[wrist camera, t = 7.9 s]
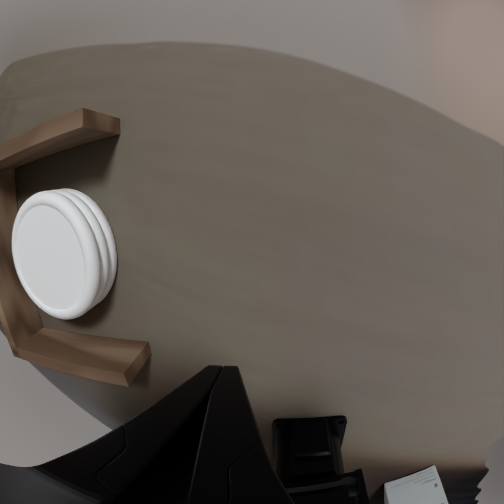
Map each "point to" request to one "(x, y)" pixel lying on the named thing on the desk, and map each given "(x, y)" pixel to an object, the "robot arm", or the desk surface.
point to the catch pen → (9, 285)
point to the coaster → (64, 252)
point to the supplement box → (416, 489)
